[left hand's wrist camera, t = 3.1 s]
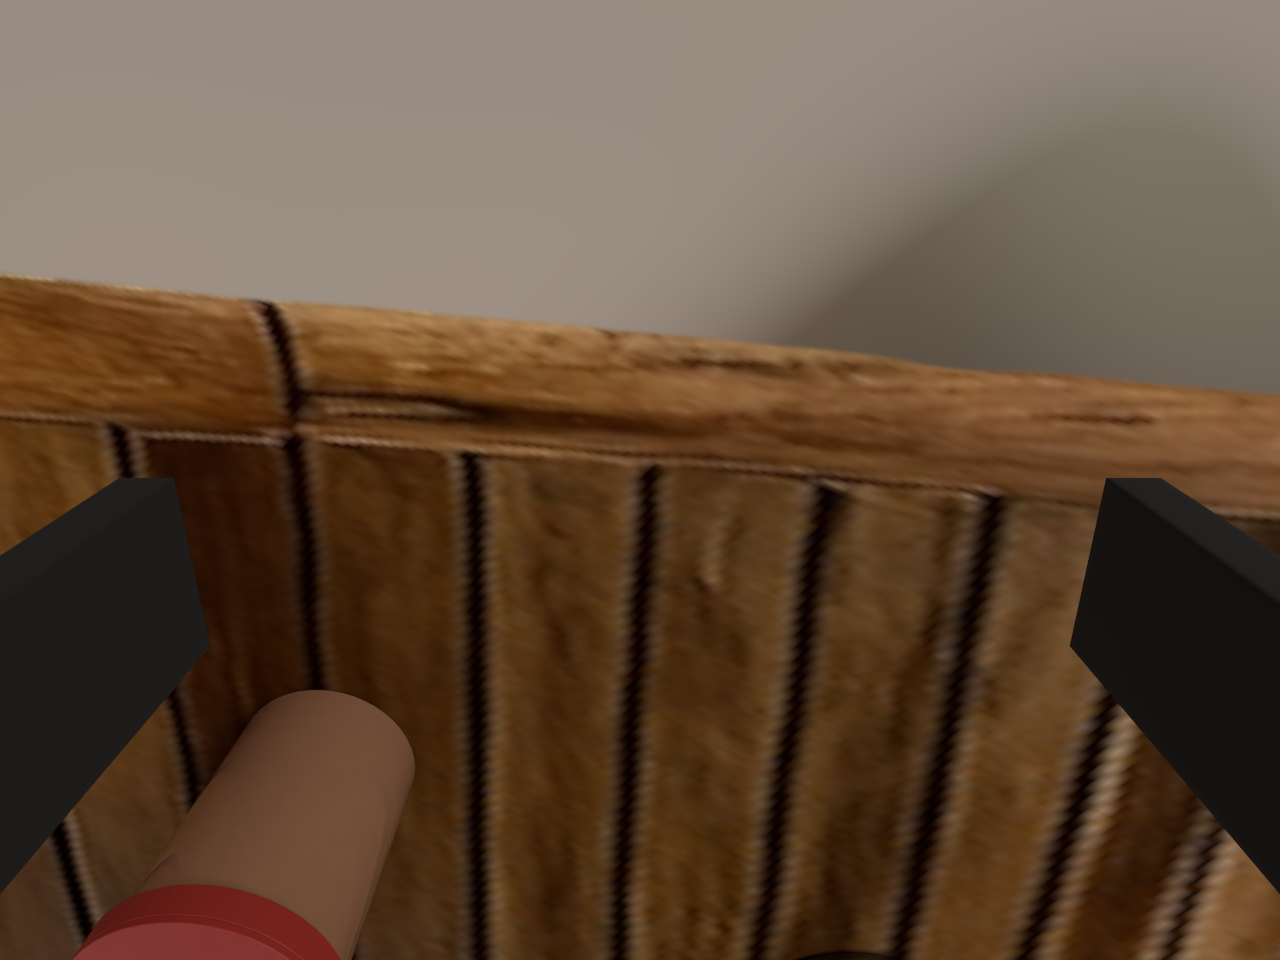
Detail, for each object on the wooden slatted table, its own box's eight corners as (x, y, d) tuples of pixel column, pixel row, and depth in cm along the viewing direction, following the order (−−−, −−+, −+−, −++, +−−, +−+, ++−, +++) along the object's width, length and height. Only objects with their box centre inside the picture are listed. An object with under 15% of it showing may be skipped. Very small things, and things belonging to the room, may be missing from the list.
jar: (419, 831, 50) (336, 1096, 36) (252, 826, 50) (103, 1090, 36) (410, 692, 47) (313, 927, 33) (230, 686, 46) (55, 919, 33)
